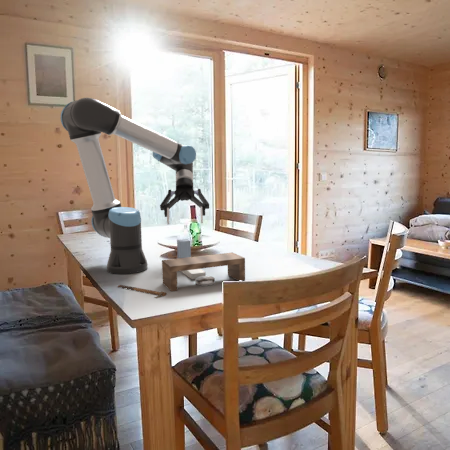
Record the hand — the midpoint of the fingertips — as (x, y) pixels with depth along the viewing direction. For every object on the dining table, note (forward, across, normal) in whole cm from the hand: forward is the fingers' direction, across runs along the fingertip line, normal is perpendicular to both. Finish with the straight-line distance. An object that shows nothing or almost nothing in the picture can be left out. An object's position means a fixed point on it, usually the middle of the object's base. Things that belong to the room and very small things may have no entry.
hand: (185, 221), depth 170 cm
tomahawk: (+40, +13, +16) cm, 45 cm away
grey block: (+24, -2, +1) cm, 24 cm away
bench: (+33, -7, +10) cm, 35 cm away
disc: (+34, -7, +11) cm, 36 cm away
